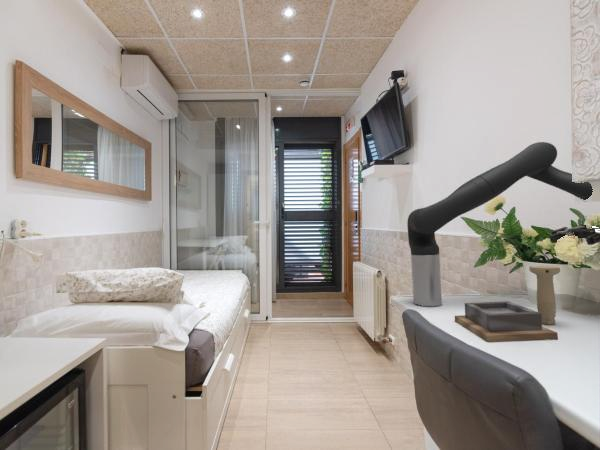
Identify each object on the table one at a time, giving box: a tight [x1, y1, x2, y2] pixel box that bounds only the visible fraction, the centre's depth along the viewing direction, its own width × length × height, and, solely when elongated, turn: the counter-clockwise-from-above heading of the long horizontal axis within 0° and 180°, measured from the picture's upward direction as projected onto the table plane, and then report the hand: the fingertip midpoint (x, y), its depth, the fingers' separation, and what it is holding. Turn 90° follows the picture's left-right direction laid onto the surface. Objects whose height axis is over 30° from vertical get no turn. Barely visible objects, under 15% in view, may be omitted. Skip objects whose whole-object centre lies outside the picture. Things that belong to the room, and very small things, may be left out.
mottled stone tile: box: [484, 308, 516, 313], centre depth 80 cm, size 8×8×1 cm
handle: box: [528, 265, 561, 325], centre depth 83 cm, size 5×6×15 cm
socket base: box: [454, 300, 559, 343], centre depth 80 cm, size 16×16×6 cm
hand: (569, 240), depth 84 cm, fingers open, 8 cm apart
